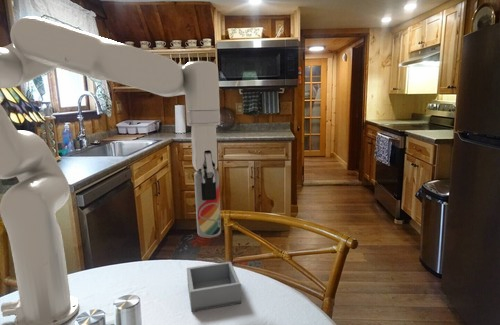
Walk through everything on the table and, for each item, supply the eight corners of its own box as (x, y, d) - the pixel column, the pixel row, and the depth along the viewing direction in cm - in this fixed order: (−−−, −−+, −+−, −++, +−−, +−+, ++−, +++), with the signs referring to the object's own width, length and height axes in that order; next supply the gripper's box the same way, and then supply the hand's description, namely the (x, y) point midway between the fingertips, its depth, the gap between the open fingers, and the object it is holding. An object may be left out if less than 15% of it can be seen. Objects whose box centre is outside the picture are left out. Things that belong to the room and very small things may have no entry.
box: (191, 312, 76) (190, 291, 75) (187, 285, 87) (186, 267, 86) (241, 303, 79) (240, 283, 78) (231, 278, 90) (230, 261, 89)
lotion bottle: (217, 238, 77) (213, 153, 73) (193, 237, 78) (189, 152, 75) (224, 229, 82) (220, 149, 79) (202, 228, 84) (197, 149, 80)
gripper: (184, 117, 83) (188, 188, 86) (189, 121, 66) (194, 208, 69) (214, 116, 84) (217, 186, 88) (226, 119, 68) (230, 204, 71)
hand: (207, 195), depth 79 cm, fingers closed on lotion bottle, 5 cm apart
